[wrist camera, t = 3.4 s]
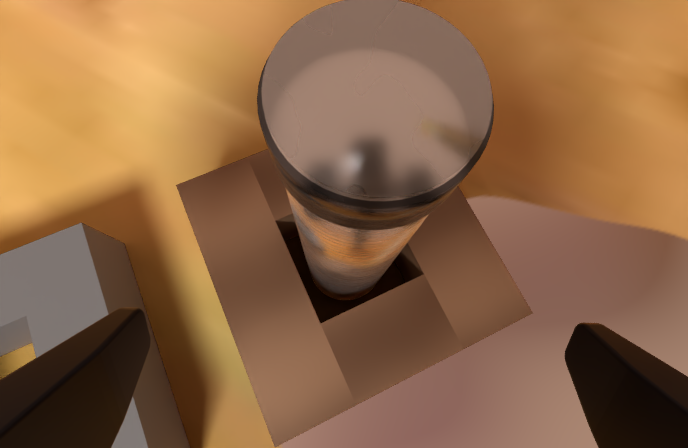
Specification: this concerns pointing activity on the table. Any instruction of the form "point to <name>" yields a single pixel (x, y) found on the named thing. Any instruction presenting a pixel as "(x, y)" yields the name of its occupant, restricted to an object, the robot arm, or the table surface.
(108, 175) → the table surface
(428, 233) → the socket block
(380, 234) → the steel pin
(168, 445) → the rack block
